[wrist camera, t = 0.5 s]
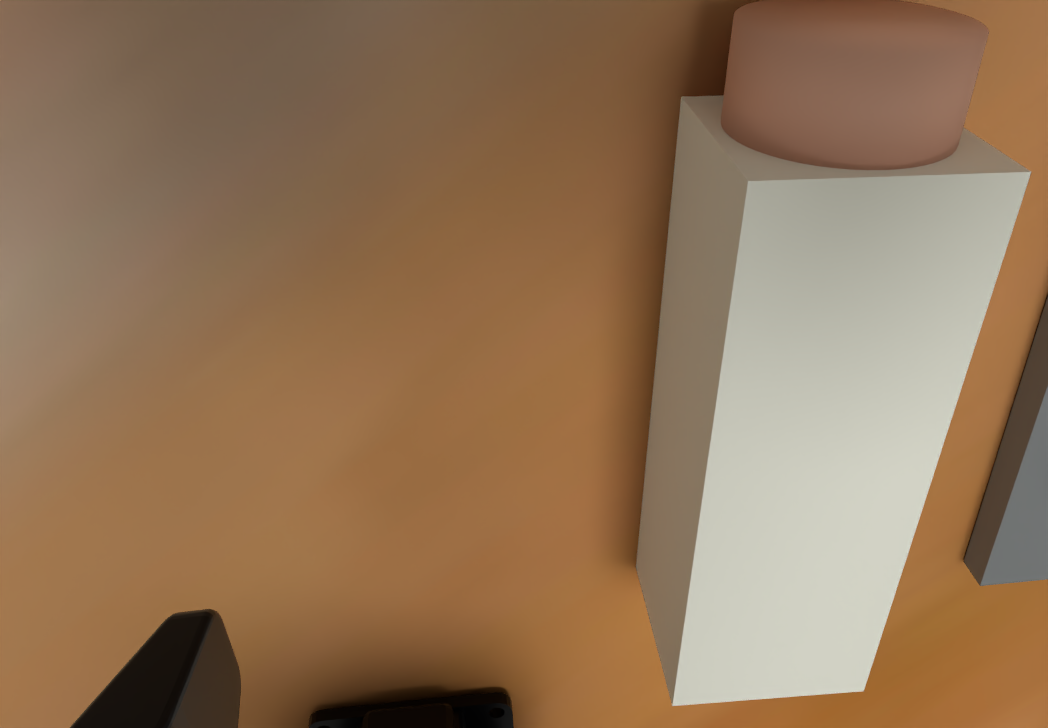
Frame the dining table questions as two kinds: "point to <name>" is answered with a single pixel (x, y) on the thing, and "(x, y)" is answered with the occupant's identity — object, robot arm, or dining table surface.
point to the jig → (1018, 485)
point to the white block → (812, 338)
